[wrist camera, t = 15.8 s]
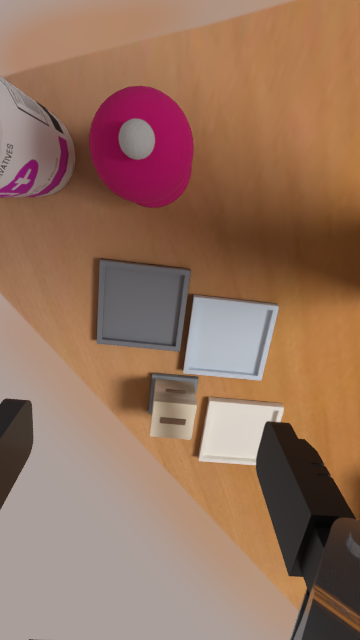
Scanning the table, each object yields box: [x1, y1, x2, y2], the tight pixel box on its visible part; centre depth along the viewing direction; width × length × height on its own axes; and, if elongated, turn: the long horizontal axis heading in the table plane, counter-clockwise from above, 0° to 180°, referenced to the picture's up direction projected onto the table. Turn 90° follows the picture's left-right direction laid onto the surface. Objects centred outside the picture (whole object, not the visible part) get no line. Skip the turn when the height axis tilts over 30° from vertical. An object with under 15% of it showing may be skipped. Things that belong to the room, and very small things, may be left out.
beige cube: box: [150, 379, 197, 440], centre depth 41 cm, size 5×5×5 cm
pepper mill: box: [89, 86, 193, 208], centre depth 24 cm, size 7×7×20 cm
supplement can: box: [0, 76, 76, 197], centre depth 26 cm, size 8×8×15 cm
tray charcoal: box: [97, 259, 191, 352], centre depth 39 cm, size 10×10×1 cm
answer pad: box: [148, 373, 198, 414], centre depth 43 cm, size 6×6×1 cm
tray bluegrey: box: [183, 295, 279, 380], centre depth 40 cm, size 10×10×1 cm
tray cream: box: [198, 397, 284, 465], centre depth 46 cm, size 10×10×1 cm
